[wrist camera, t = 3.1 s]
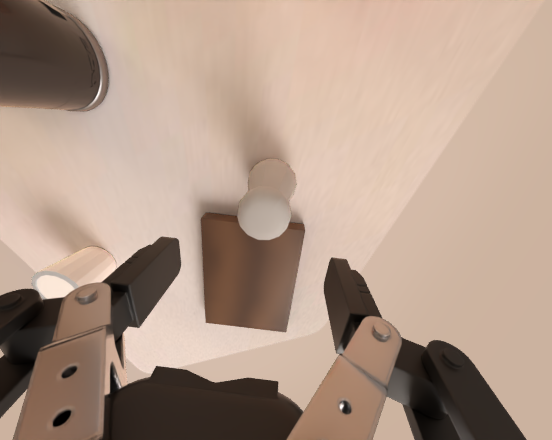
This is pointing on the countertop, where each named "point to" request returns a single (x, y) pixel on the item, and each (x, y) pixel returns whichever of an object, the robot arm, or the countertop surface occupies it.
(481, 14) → the countertop surface
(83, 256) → the white short cylinder
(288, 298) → the cutting board
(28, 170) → the countertop surface
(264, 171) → the salt shaker
